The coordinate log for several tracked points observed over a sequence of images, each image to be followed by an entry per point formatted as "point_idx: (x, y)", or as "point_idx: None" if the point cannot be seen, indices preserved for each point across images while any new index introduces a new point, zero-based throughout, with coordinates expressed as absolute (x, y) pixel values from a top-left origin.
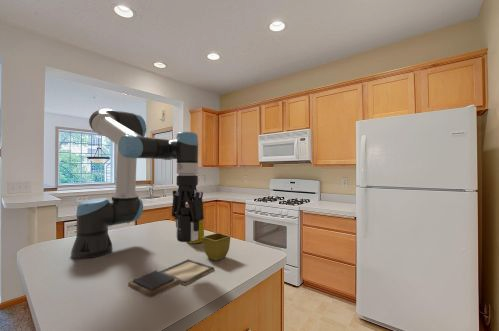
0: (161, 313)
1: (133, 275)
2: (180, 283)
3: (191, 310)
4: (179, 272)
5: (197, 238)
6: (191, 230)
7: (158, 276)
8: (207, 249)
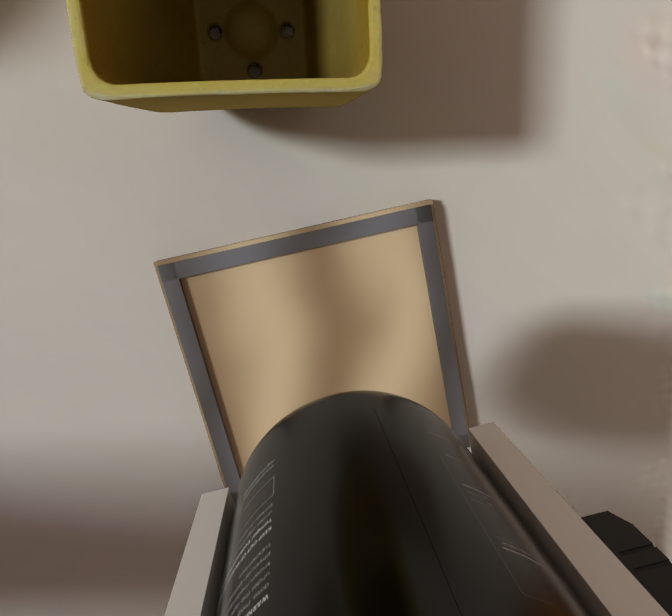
0: None
1: (148, 600)
2: None
3: (661, 503)
4: None
5: (498, 434)
6: None
7: None
8: (223, 109)
